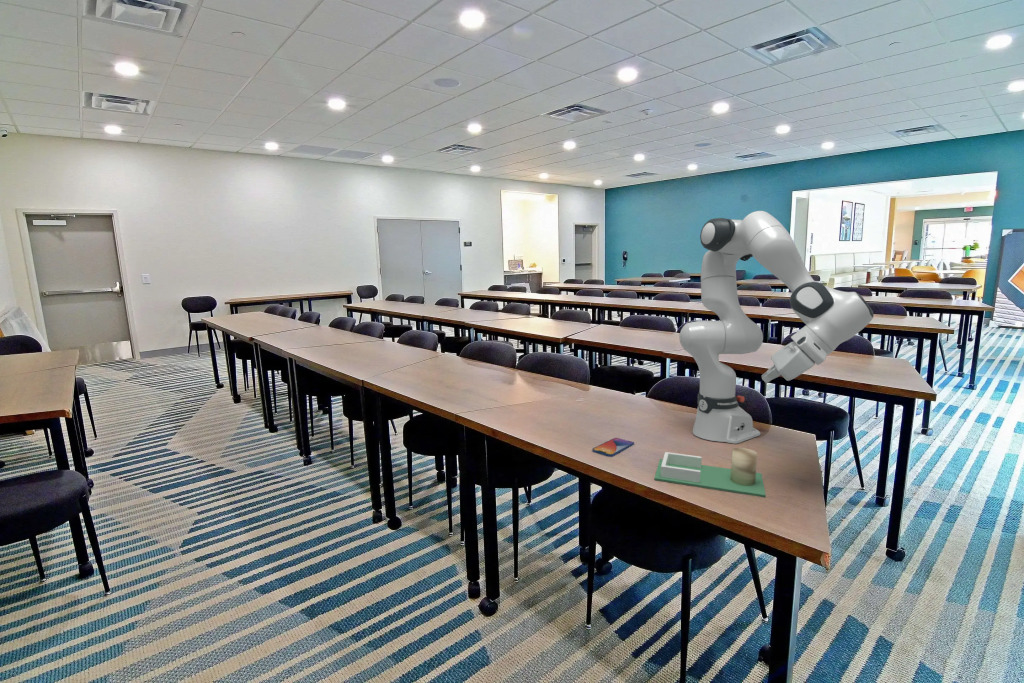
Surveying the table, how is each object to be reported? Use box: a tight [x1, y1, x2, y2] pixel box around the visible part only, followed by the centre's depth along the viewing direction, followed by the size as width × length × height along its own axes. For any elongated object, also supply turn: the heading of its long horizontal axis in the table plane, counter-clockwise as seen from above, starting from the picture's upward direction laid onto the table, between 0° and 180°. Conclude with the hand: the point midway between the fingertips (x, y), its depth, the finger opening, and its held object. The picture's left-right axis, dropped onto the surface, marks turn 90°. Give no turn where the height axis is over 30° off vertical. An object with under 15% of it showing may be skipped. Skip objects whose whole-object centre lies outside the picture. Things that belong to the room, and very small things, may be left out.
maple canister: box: [730, 447, 758, 486], centre depth 131 cm, size 6×6×8 cm
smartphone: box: [592, 437, 635, 458], centre depth 158 cm, size 7×15×1 cm, turn 138°
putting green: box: [653, 451, 767, 498], centre depth 135 cm, size 27×14×4 cm, turn 67°
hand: (763, 379), depth 131 cm, fingers closed
